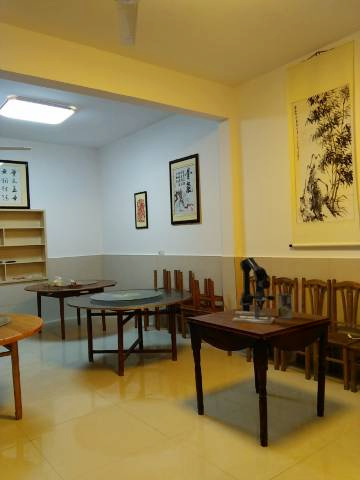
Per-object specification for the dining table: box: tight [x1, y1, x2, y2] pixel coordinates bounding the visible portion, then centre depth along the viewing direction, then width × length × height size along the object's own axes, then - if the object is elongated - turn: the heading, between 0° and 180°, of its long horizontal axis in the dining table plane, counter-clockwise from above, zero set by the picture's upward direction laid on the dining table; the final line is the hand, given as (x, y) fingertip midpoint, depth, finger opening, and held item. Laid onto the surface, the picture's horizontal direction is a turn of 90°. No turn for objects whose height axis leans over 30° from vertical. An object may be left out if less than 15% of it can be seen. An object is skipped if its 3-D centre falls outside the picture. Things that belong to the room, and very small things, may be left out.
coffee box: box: [277, 293, 294, 319], centre depth 271 cm, size 9×6×16 cm
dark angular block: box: [254, 304, 261, 318], centre depth 265 cm, size 5×2×8 cm, turn 155°
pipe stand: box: [232, 310, 275, 325], centre depth 266 cm, size 12×26×6 cm, turn 65°
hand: (261, 310), depth 264 cm, fingers closed
